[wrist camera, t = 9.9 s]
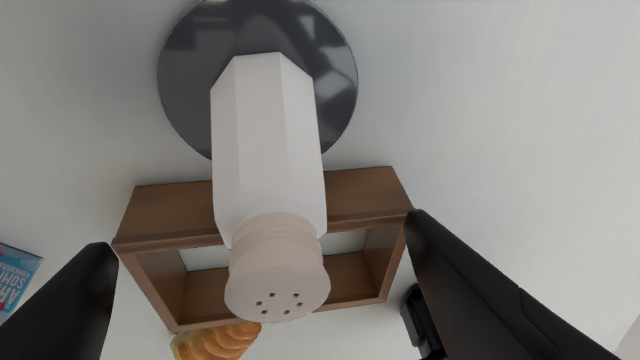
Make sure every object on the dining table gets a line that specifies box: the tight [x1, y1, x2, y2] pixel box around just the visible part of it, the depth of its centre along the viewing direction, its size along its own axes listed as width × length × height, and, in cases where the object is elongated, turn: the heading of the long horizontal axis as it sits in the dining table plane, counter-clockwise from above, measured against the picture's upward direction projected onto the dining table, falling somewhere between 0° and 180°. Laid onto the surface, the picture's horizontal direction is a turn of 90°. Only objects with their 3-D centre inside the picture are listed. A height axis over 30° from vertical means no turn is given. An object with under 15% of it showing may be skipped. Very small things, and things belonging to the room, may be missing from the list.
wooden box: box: [111, 167, 415, 333], centre depth 22 cm, size 17×11×4 cm, turn 88°
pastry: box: [171, 321, 261, 360], centre depth 31 cm, size 9×7×4 cm
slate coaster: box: [157, 0, 358, 160], centre depth 16 cm, size 10×10×1 cm
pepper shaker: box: [210, 52, 331, 323], centre depth 12 cm, size 5×5×11 cm
